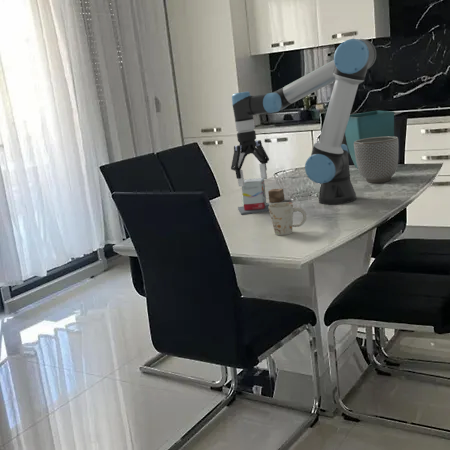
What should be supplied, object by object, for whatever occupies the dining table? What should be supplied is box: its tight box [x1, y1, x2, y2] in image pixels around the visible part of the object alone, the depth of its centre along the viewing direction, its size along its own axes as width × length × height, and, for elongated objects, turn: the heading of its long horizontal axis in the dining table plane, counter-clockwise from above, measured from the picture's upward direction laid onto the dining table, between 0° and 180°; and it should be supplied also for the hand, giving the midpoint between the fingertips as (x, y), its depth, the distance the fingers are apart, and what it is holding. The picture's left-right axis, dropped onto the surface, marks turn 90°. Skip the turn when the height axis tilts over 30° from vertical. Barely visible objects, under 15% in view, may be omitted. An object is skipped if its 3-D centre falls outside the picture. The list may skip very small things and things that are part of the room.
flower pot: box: [344, 110, 395, 170], centre depth 319 cm, size 20×20×28 cm
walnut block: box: [268, 188, 285, 204], centre depth 272 cm, size 5×5×5 cm
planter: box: [354, 135, 399, 184], centre depth 286 cm, size 20×20×19 cm
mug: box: [268, 201, 307, 236], centre depth 216 cm, size 8×13×10 cm, turn 95°
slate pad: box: [237, 202, 270, 216], centre depth 260 cm, size 13×13×1 cm
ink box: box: [241, 177, 267, 210], centre depth 259 cm, size 9×9×12 cm
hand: (253, 182), depth 258 cm, fingers open, 13 cm apart
